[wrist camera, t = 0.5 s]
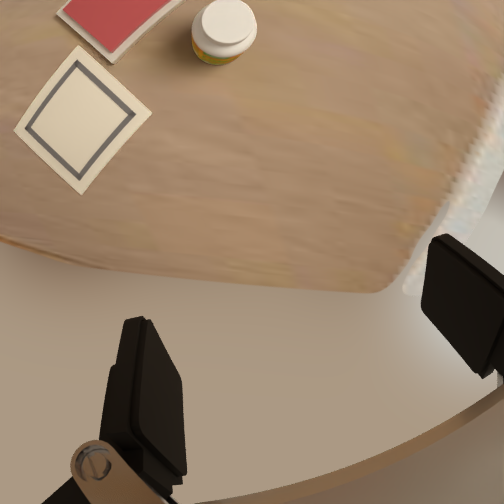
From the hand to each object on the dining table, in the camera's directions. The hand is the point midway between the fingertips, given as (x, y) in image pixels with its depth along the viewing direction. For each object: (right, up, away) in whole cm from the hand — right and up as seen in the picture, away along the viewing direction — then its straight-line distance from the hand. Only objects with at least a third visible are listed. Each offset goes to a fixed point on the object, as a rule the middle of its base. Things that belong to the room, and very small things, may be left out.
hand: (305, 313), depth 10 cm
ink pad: (-15, +27, +13) cm, 34 cm away
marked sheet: (-20, +16, +18) cm, 31 cm away
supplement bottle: (-5, +23, +17) cm, 30 cm away
